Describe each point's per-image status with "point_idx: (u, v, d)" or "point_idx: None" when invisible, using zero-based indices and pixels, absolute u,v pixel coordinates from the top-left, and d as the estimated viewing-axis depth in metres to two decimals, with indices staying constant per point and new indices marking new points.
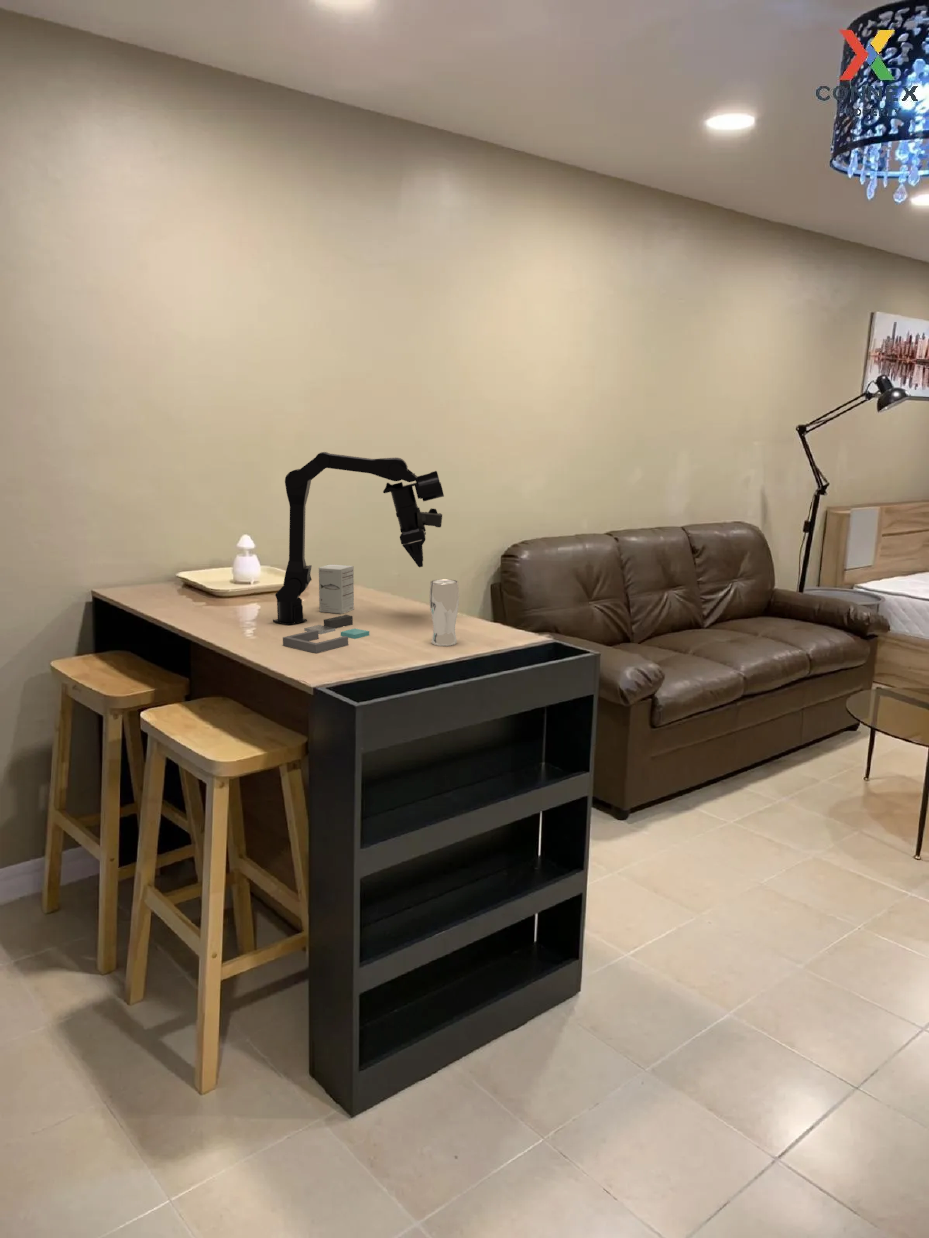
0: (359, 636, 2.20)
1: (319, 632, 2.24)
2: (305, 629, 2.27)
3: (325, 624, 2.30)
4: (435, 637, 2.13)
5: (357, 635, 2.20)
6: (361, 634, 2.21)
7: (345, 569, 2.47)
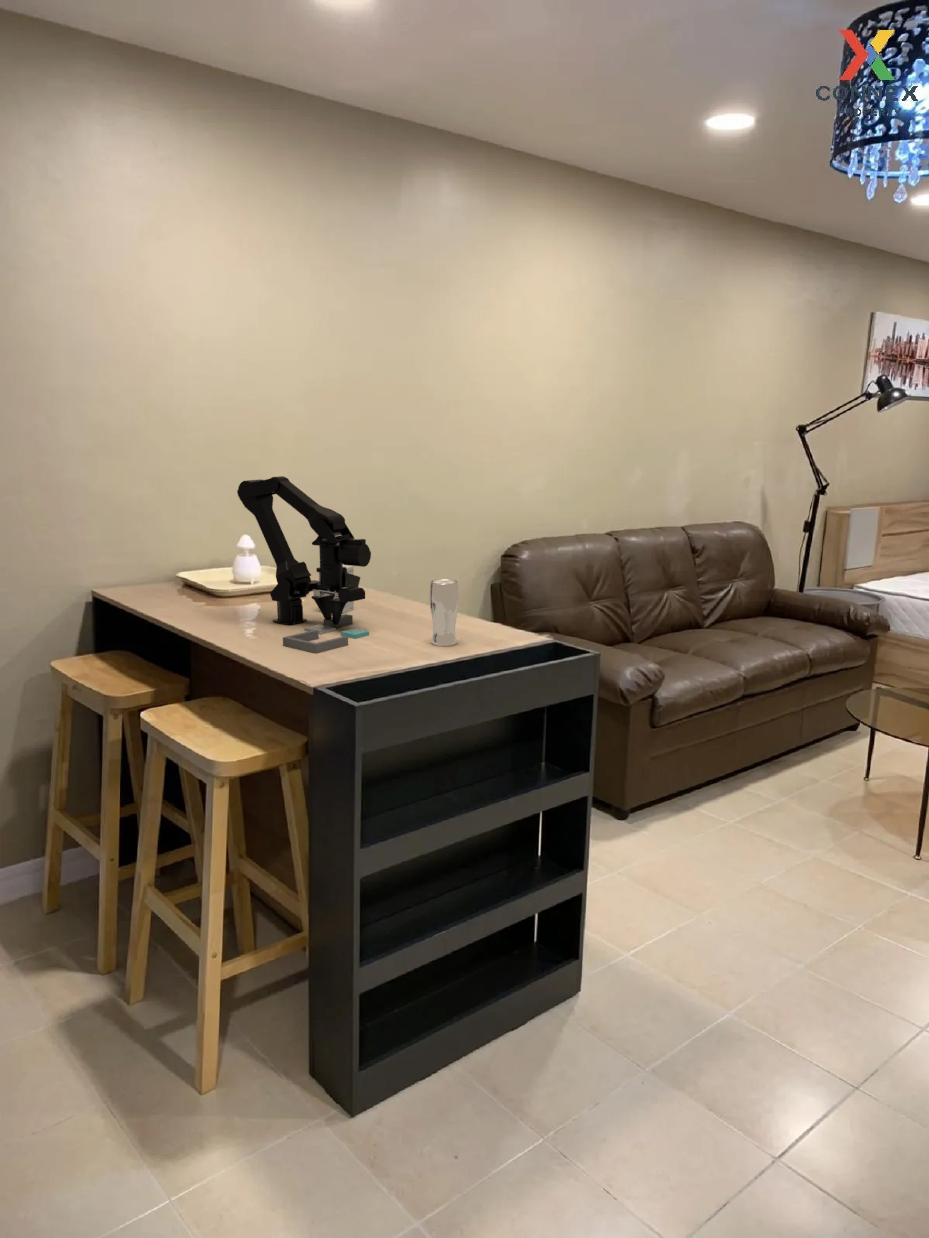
0: (359, 636, 2.20)
1: (319, 632, 2.24)
2: (305, 629, 2.27)
3: (325, 624, 2.30)
4: (435, 637, 2.13)
5: (357, 635, 2.20)
6: (361, 634, 2.21)
7: None
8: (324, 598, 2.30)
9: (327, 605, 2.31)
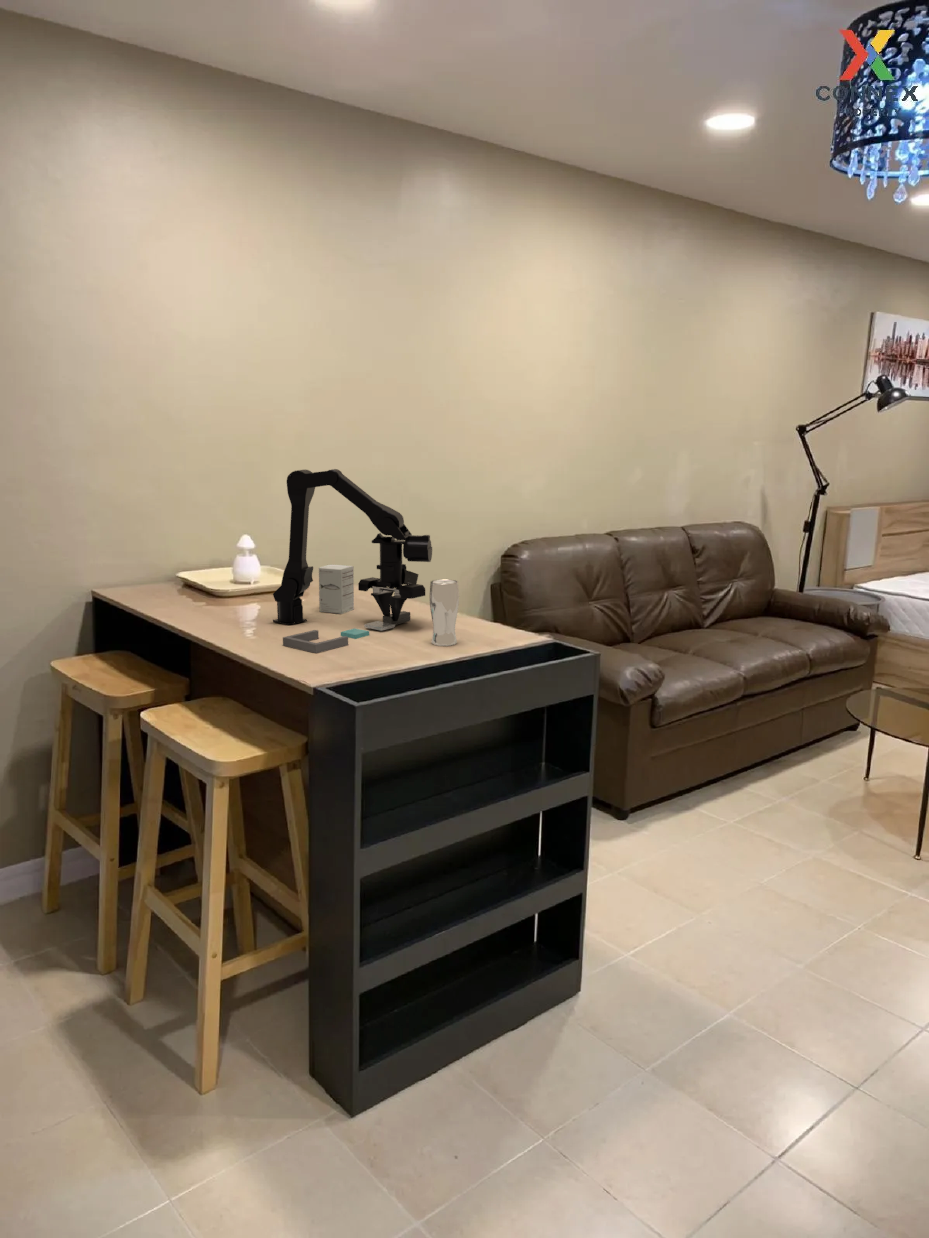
0: (359, 636, 2.20)
1: (380, 628, 2.26)
2: (365, 625, 2.29)
3: (384, 620, 2.32)
4: (435, 637, 2.13)
5: (357, 635, 2.20)
6: (361, 634, 2.21)
7: (345, 569, 2.47)
8: (383, 595, 2.32)
9: (386, 602, 2.33)
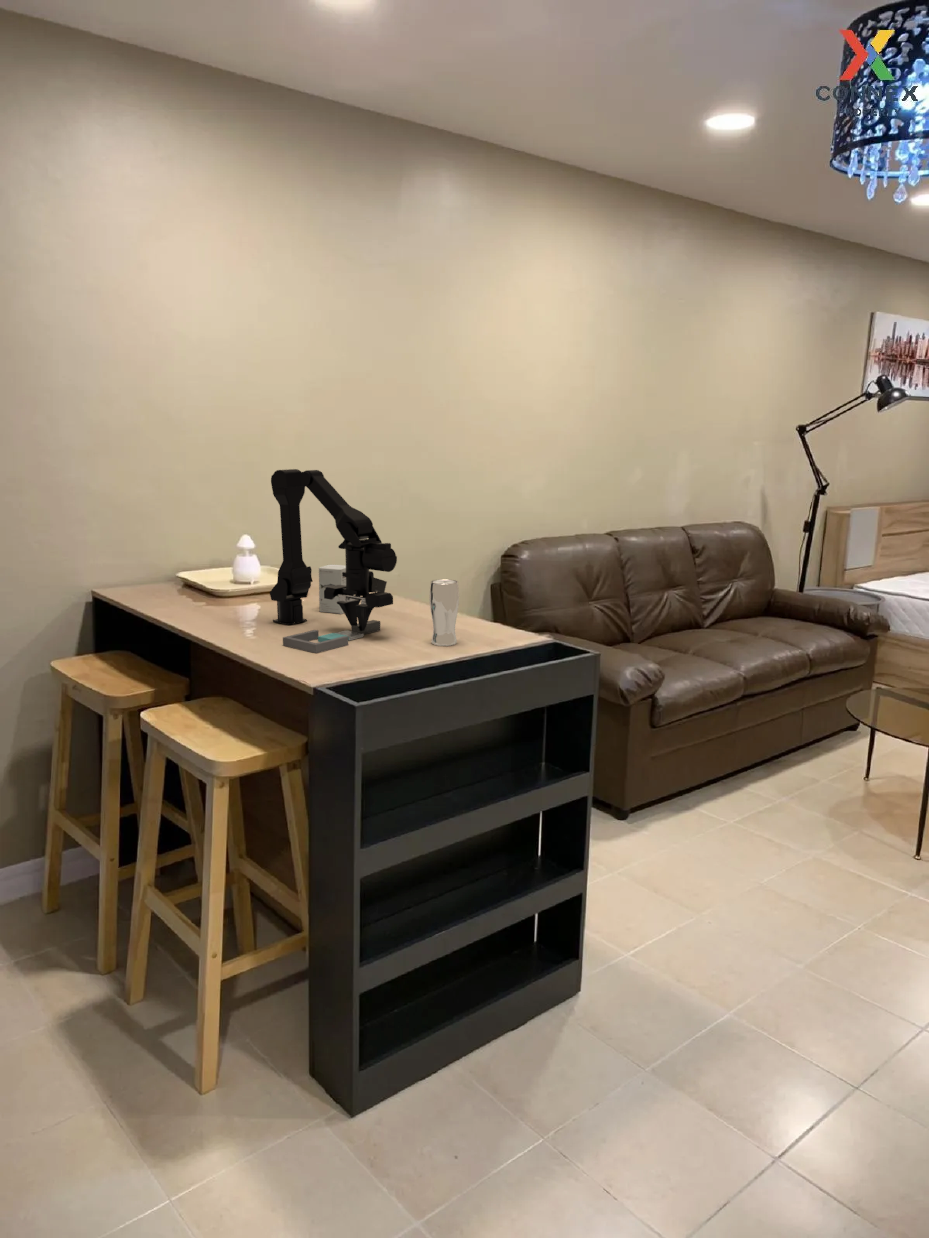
0: None
1: None
2: None
3: (353, 629, 2.23)
4: (435, 637, 2.13)
5: None
6: None
7: (345, 569, 2.47)
8: (350, 603, 2.23)
9: (353, 611, 2.23)
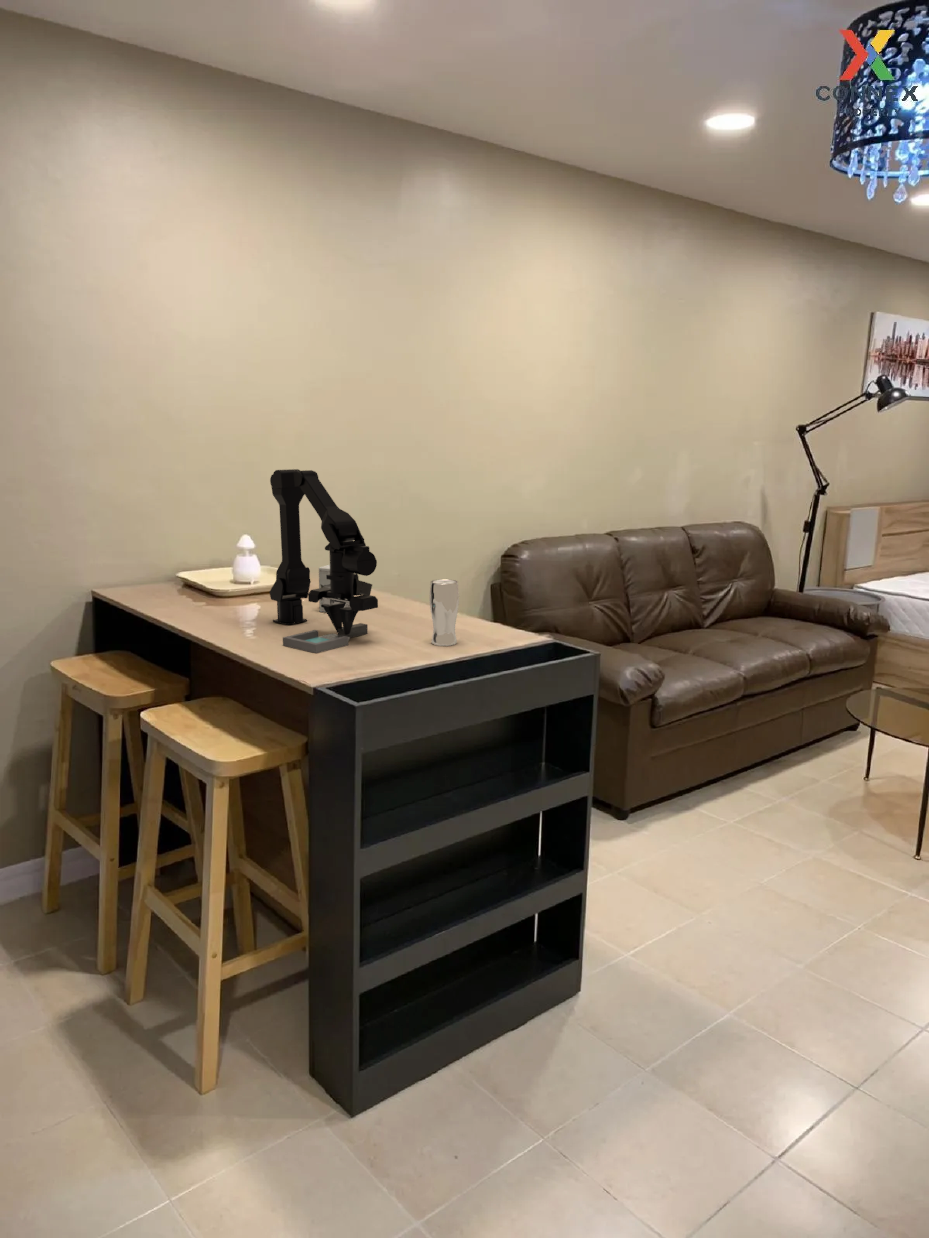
0: None
1: None
2: None
3: (339, 633, 2.19)
4: (435, 637, 2.13)
5: None
6: None
7: None
8: (334, 607, 2.19)
9: (337, 614, 2.19)
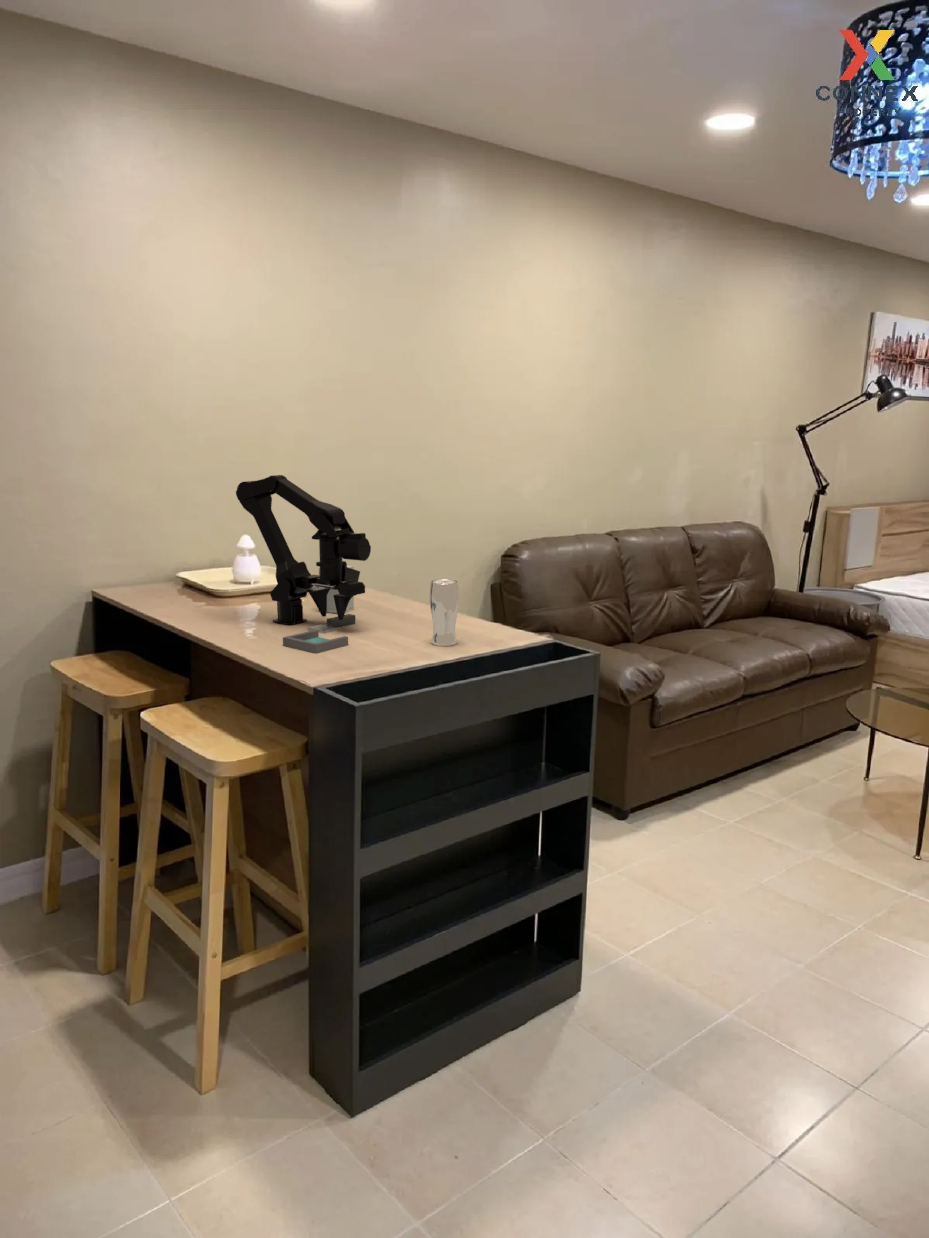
0: None
1: (322, 631, 2.25)
2: (308, 628, 2.28)
3: (328, 623, 2.30)
4: (435, 637, 2.13)
5: None
6: None
7: None
8: (319, 591, 2.31)
9: (322, 598, 2.31)
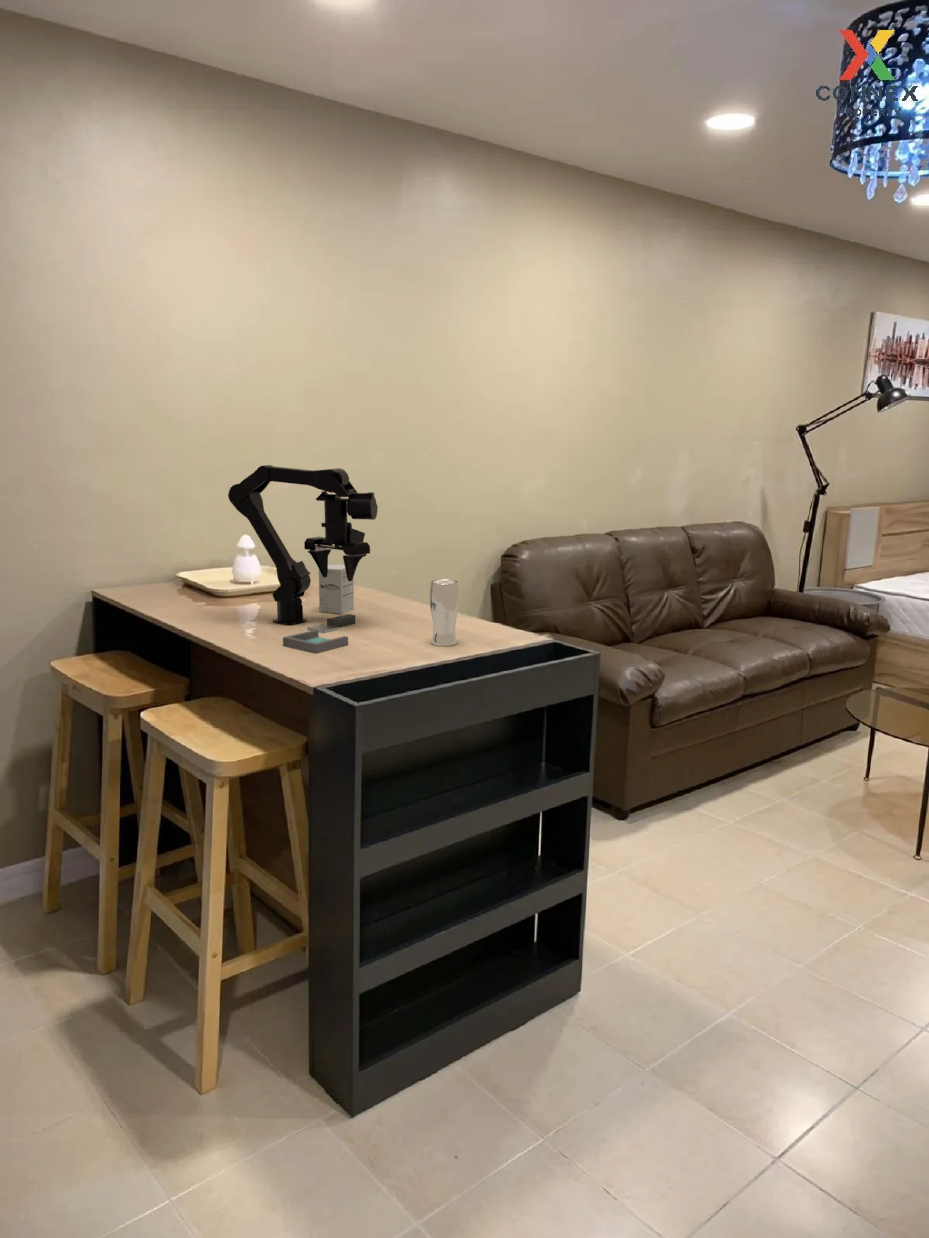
0: None
1: (322, 631, 2.25)
2: (308, 628, 2.28)
3: (328, 623, 2.30)
4: (435, 637, 2.13)
5: None
6: None
7: None
8: (320, 552, 2.33)
9: (323, 559, 2.34)
